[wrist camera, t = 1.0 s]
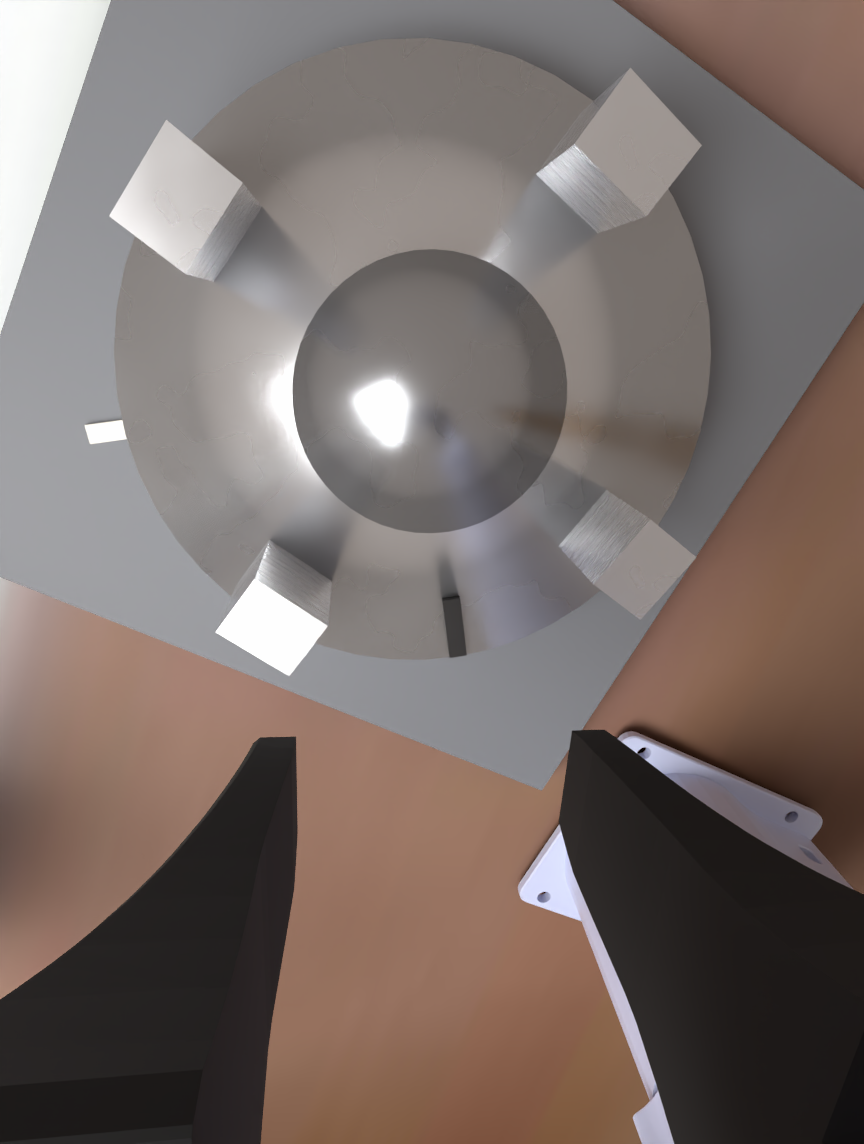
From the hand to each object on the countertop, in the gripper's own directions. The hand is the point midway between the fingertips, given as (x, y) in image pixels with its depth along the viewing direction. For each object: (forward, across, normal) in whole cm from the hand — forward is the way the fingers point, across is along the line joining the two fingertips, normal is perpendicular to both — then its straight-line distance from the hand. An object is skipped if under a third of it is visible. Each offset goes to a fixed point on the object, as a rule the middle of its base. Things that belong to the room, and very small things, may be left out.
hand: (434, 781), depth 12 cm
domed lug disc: (+9, 0, -6) cm, 11 cm away
